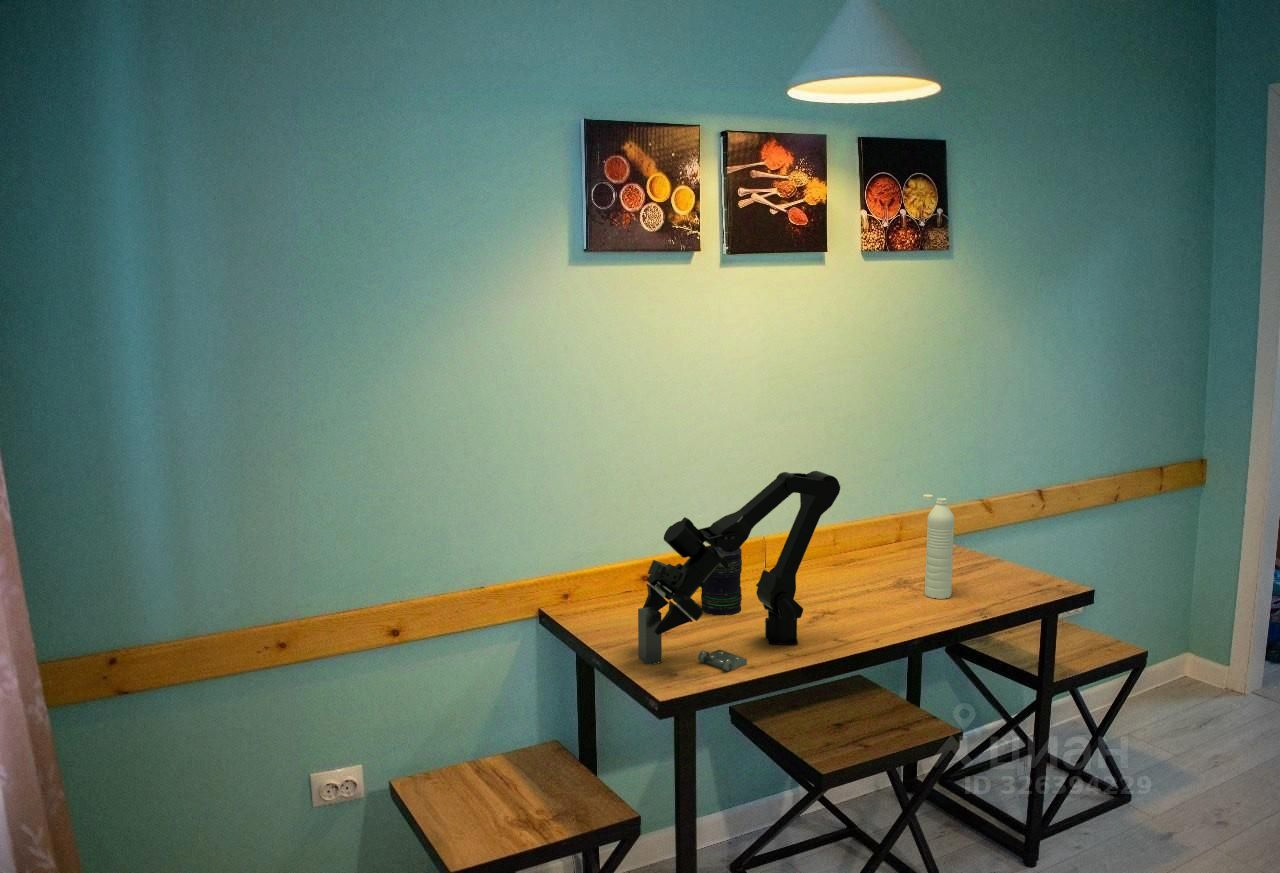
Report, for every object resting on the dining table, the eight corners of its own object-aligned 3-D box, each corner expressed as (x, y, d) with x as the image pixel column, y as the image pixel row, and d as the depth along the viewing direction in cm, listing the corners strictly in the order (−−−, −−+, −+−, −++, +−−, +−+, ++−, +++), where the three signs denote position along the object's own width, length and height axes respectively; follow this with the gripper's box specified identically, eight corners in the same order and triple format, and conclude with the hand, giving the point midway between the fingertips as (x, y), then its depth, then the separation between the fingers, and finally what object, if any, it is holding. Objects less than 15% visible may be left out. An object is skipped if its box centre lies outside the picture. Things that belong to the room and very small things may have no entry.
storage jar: (739, 617, 256) (739, 556, 253) (698, 614, 258) (698, 554, 255) (743, 604, 265) (744, 545, 263) (704, 601, 267) (704, 543, 265)
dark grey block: (653, 655, 232) (653, 606, 230) (661, 662, 227) (661, 612, 226) (638, 658, 230) (638, 608, 228) (646, 665, 226) (645, 615, 224)
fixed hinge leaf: (719, 654, 232) (719, 644, 231) (746, 664, 226) (746, 653, 226) (698, 663, 227) (698, 652, 227) (725, 672, 222) (725, 661, 221)
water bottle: (956, 596, 270) (960, 498, 266) (939, 601, 266) (943, 502, 262) (929, 587, 277) (932, 492, 273) (912, 592, 273) (915, 496, 269)
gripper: (654, 536, 235) (607, 591, 233) (689, 558, 218) (638, 617, 216) (687, 567, 239) (641, 621, 237) (723, 591, 222) (674, 649, 220)
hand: (647, 626), depth 227 cm, fingers open, 9 cm apart
